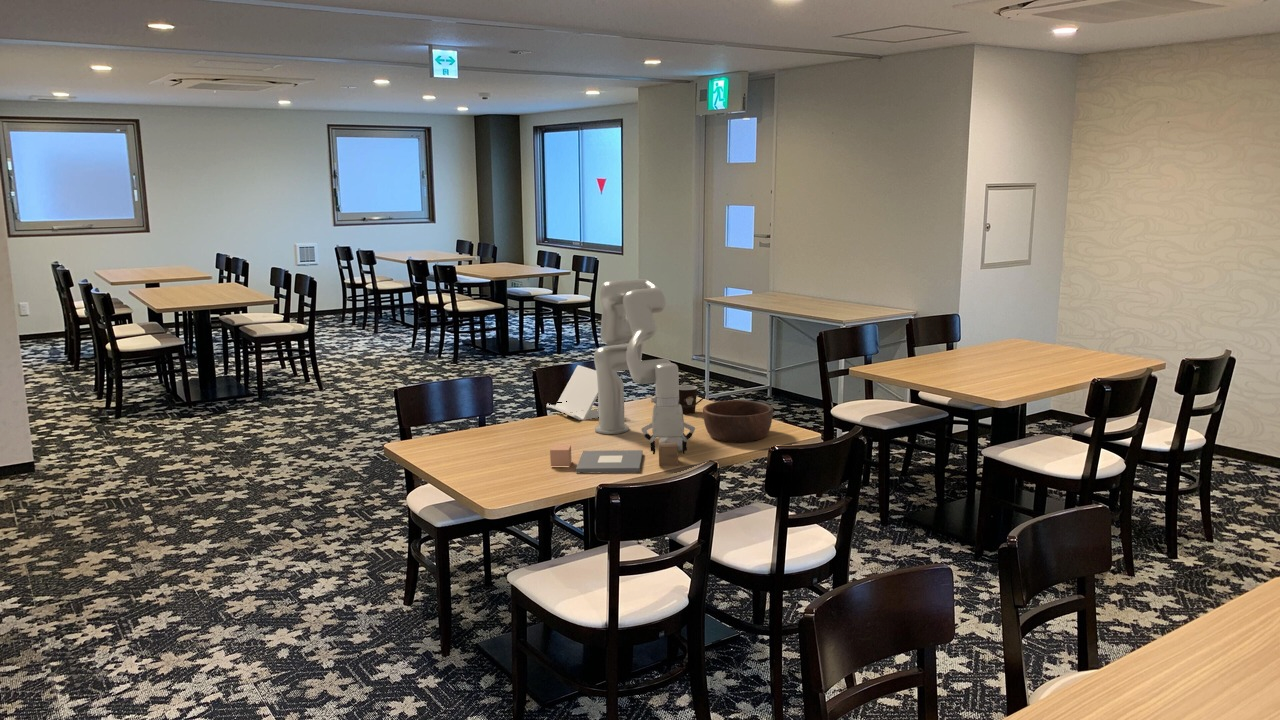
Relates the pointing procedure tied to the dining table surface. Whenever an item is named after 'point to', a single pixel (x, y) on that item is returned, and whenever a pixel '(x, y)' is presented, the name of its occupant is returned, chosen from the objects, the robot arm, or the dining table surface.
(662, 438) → the die
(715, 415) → the wooden bowl
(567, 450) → the terracotta block
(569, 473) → the dining table surface
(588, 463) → the baseboard
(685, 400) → the coffee mug
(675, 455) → the walnut block
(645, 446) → the dining table surface
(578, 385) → the tablet stand
